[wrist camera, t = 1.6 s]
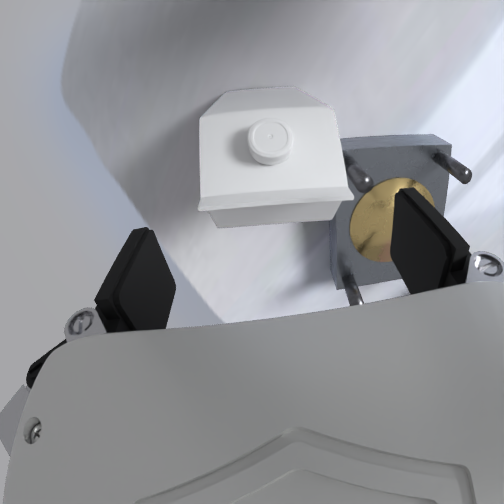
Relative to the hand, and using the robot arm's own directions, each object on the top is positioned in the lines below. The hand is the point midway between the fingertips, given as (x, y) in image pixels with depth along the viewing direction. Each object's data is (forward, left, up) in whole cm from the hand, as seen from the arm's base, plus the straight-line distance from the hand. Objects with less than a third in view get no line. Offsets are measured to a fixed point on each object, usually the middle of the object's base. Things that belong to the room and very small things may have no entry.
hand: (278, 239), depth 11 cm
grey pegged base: (+12, +13, -22) cm, 28 cm away
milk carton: (0, 0, -22) cm, 22 cm away
